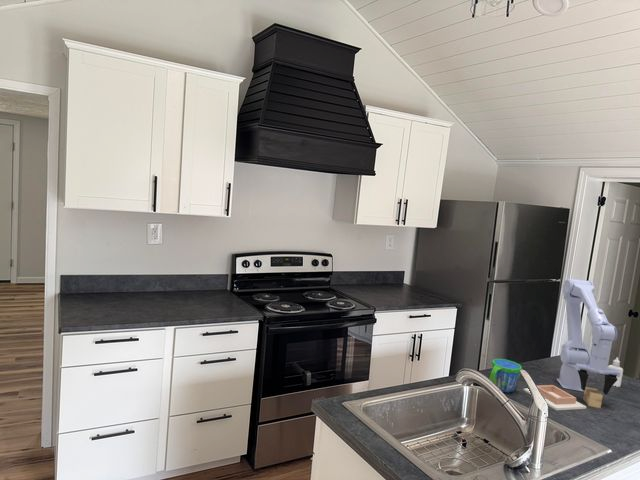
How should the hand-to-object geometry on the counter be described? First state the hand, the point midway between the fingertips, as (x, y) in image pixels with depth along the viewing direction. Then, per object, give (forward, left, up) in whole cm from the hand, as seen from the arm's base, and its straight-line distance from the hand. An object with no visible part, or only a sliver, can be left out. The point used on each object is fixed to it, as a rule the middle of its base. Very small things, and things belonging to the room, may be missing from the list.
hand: (593, 391), depth 171 cm
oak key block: (0, 0, -5) cm, 5 cm away
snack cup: (+2, -32, -5) cm, 32 cm away
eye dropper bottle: (-27, +17, -5) cm, 32 cm away
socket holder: (+3, -14, -5) cm, 15 cm away
